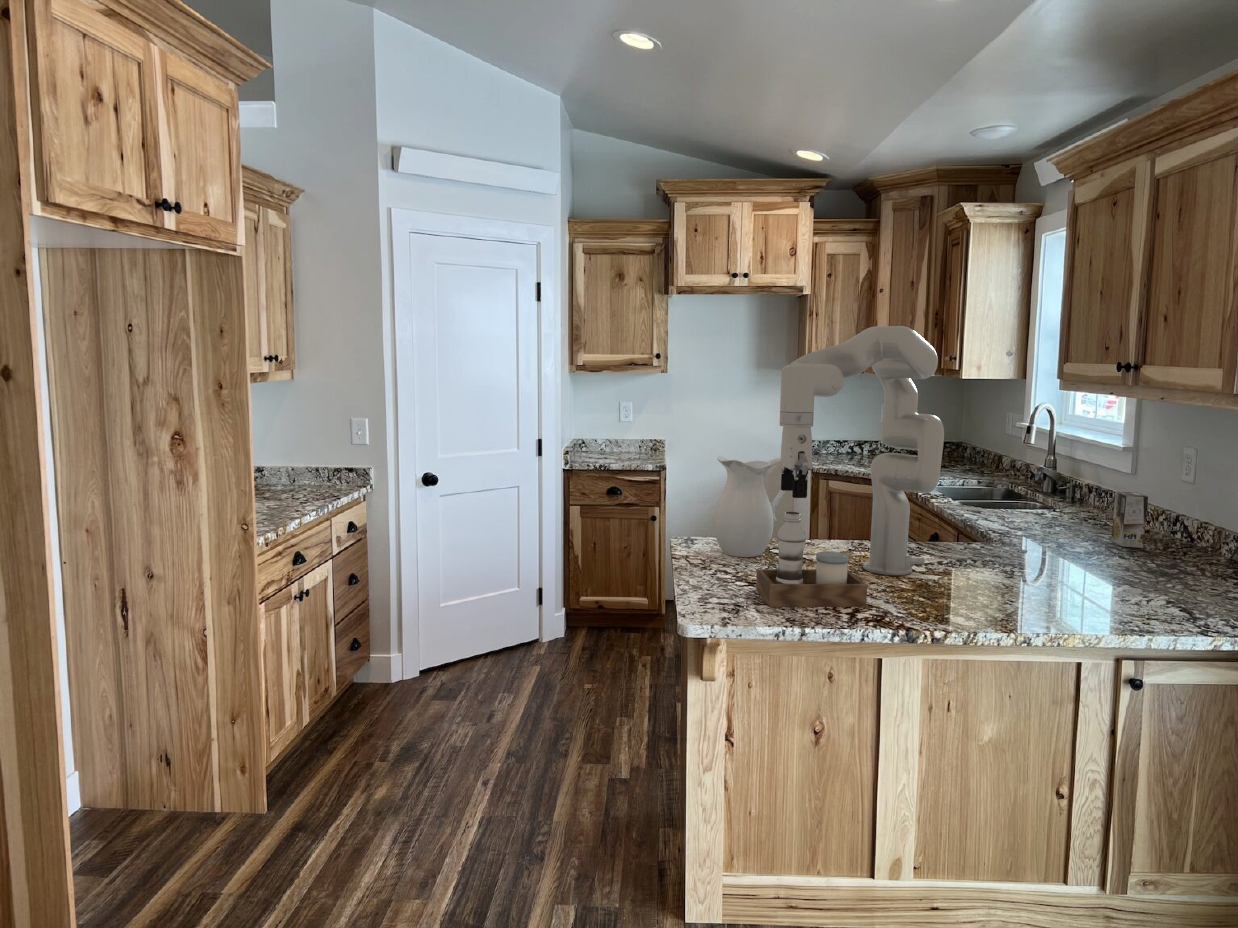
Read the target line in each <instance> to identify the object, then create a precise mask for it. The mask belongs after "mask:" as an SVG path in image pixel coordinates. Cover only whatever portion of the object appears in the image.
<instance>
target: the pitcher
mask: <svg viewBox="0 0 1238 928" xmlns="http://www.w3.org/2000/svg"><path fill="white" fill-rule="evenodd" d="M717 460H718V463H720V464H721V465H722V466H723V467H724V468H725V470H726V473H727V474H726V475H727V476H726V477H727V478H726V481H725V484H724V487H723V490H722V492H721V495H720V496H719V499H718V502H717V504H716V508H715V511H714V516H713V517H714V519H713V530H714V535H715V538H716V542H717V544H718V546H719V547H720V549H721V551H722V553H724V554H725V555H728V556H730V557H735V558H736V557H737V558H754V557H760V556H761V555H762V554H763V553H764V552H765V551H766V549H767V547H768V546H769V544H770V542H771V539H772V537H773V531H774V523H776V522H777V521H778V520H777V518H776V514H775V511H776V508H777V506H778V505H779V503H780V501H782V499H783V497H784V496H785V494H786V492H787V491H782V490H781V489H780V490H779V491H778V493H777V494H776V496H775V497H774V498H773V500H772V502H771V501H770V499H769V496H768V492H767V490H766V487H765V483H764V478H767V477H768V473H769V471H770V470H771V469H772V468H773V467H775V466H777V465H782V464H781V457H780V458H779V457H778V458H774V459H771V460H770V461H764V460H751V461H747V462H743V461H740V460H736V459H728V458H726V457H724V456H718V457H717ZM792 474H794V473H792Z"/></svg>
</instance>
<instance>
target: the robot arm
mask: <svg viewBox="0 0 1238 928" xmlns="http://www.w3.org/2000/svg"><path fill="white" fill-rule="evenodd" d="M938 363H939V358H938V354H937V352H936V350H935V348H934V347H933V345H931V344H930V343H929V342H928V341H927V340H925V338H924V337H922V335H920V334H919V333H918V332H916V331H915V330H914V329H912V328H910V327H908V326H905V325H886V326H885V325H876V326H870V327H868V328H866V329H864V330H862V331H861V332H859V333H858V334H855V335H854V336H852V337H851V338H849V339H847V340H846V341H844V342H842V343H839V344H836V345H831V346H829V347H826V348H823V349H819V350H816V351H815V350H814V351H812V352H809V353H807V354H805V355H802V356H800V357H798V358H797V359H796V360H794V361H792V362H790V363H789V364H788V365H785V366H783V367H782V369H781V376H780V377H781V378H780V397H779V398H780V400H779V402H780V403H779V404H780V405H779V424H778V425H779V426H780V427H782V432H781V447H780V458H781V464H780V465H782V466H781V473H780V474H781V475H780V490H782V491H786V492H787V491H789V492H791V491H792V498H793V499H807V497H808V480H809V477H808V474H809V472H810V471H811V470H812V469H813V435H812V434H813V433H812V428H813V427H814V414H815V412H814V411H815V397H823V398H825V397H826V398H827V397H828V398H829V397H833V396H836V395H837V394H838V393H840V392H841V390H842V389H843V387H844V385H845V378H850V377H856V376H859V375H860V374H863V372H865V371H866V370H868V369H870V367H871V369H872V371H873V372H874V374H875V375H876V377H877V378H878V380H879V382H880V384H881V386H882V389H883V394H884V396H883V399H884V400H883V409H882V410H883V411H882V420H881V426H880V427H881V429H880V437H881V438H880V439H881V442H882V444H883V445H885V446H887V447H889V448H894V449H899V450H901V449H902V450H910V451H917V455H915V454H913V455H912V454H907V453H899V452H898V453H896V452H885V453H880V454H879V455H877V456H876V457H874V459H872V462H871V464H870V478H871V485H872V507H871V508H872V511H871V526H870V527H871V528H870V529H871V530H870V545H869V546H870V547H869V559H868V560H866V561H863V564H862V568H863V569H864V570H866V571H867V572H870V573H873V574H879V575H884V576H885V575H886V576H904V575H909V574H912V572H913V567H912V566H913V565H914V564H917V565H924V564H925V563H926V559H925V557H924V556H916V555H911V554H909V553H908V544H909V543H908V542H909V528H910V514H911V513H910V511H911V507H910V503H909V499H908V497H907V495H906V494H905V492H909V493H910V492H911V493H919V494H930V493H932V492H934V491H935V489H936V488H937V486H938V484H939V480H940V477H941V467H942V458H943V449H944V441H945V440H944V439H945V428H944V424H943V422H942V420H941V419H940V418H939V417H938V416H936V415H933V414H927V413H918V407H919V406H918V403H919V402H918V401H919V393H918V389H917V388H916V387H917V386H916V385H915V383H914V381H913V379H914V380H925V379H928V378H930V377H932V376H933V375H934V374H935V373H936V371H937V369H938ZM792 473H794V474H792Z"/></svg>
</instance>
